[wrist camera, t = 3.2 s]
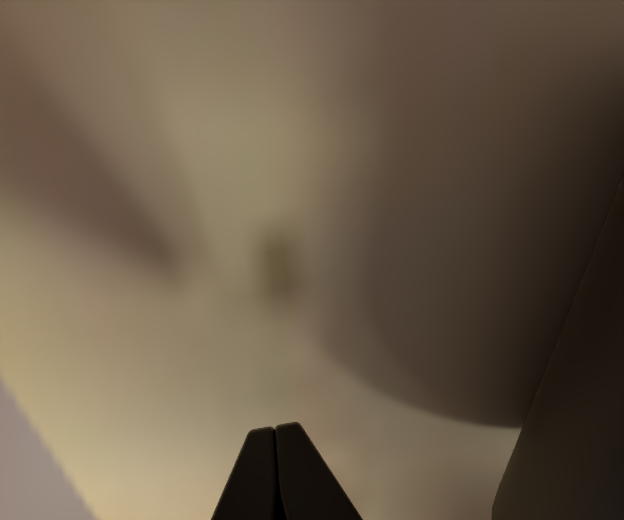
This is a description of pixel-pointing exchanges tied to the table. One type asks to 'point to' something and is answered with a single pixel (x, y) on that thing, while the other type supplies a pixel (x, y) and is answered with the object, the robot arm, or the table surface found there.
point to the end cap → (578, 404)
